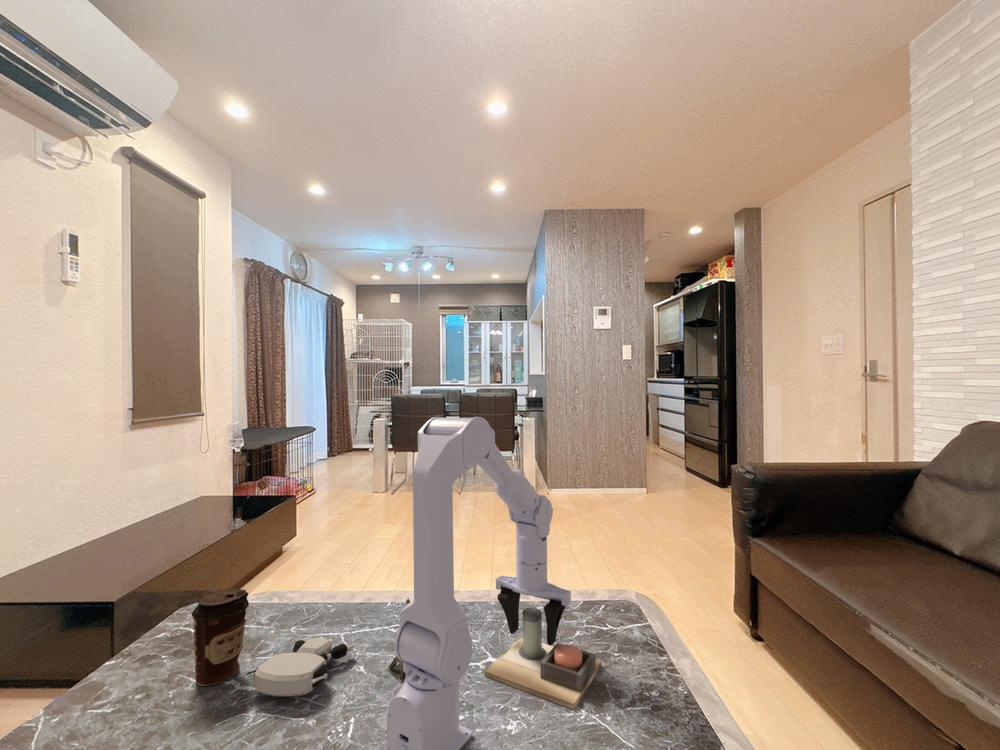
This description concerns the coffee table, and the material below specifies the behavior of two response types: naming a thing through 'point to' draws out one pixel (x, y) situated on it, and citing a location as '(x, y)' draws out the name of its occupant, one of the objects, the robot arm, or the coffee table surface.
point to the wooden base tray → (544, 674)
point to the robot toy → (297, 668)
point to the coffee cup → (219, 635)
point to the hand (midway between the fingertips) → (532, 636)
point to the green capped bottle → (532, 632)
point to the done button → (568, 657)
